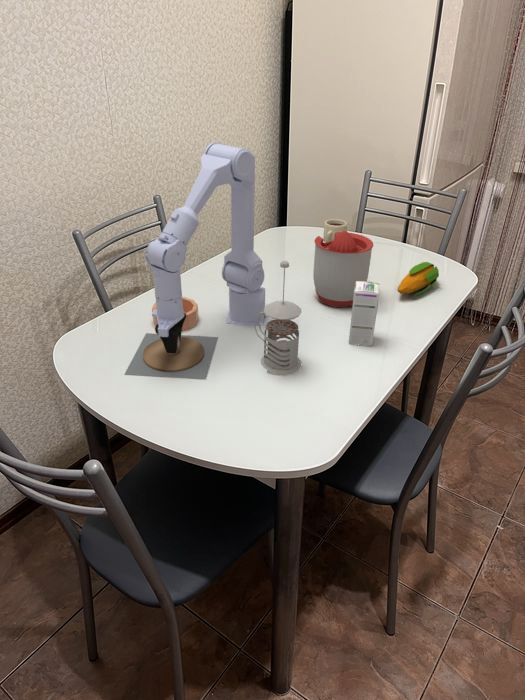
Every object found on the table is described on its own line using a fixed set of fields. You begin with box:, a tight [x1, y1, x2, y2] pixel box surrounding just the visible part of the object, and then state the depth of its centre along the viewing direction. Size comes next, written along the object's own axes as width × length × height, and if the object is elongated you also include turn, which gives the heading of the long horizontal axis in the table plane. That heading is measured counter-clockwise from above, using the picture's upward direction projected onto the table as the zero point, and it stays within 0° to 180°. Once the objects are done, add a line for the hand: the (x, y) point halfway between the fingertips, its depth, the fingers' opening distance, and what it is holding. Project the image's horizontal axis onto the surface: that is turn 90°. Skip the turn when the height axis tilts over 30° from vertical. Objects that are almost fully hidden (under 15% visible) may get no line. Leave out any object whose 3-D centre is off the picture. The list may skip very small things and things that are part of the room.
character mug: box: [322, 218, 348, 243], centre depth 167 cm, size 11×7×13 cm, turn 148°
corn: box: [396, 261, 440, 298], centre depth 151 cm, size 7×8×20 cm
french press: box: [253, 259, 302, 376], centre depth 113 cm, size 10×12×25 cm
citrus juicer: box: [312, 230, 374, 308], centre depth 143 cm, size 16×17×20 cm
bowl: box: [151, 296, 199, 332], centre depth 133 cm, size 11×11×4 cm
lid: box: [143, 336, 204, 372], centre depth 119 cm, size 14×14×5 cm
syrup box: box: [348, 281, 380, 347], centre depth 124 cm, size 6×6×14 cm
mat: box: [124, 332, 219, 381], centre depth 120 cm, size 18×18×1 cm
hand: (173, 348), depth 119 cm, fingers open, 3 cm apart
